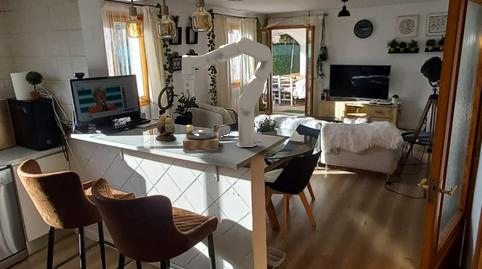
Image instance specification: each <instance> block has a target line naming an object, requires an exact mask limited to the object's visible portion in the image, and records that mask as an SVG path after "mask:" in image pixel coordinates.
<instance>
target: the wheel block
mask: <svg viewBox="0 0 482 269" xmlns="http://www.w3.org/2000/svg"><path fill="white" fill-rule="evenodd" d="M218 144H220V138H219V133H216V137H214V138H210V139H189V138H187V137H186V135H185V136H184V138H183V139H182V151H183V152H193V151H194V152H197V151H196V150H209V151H214V150H213V149H218V150H219V146H218Z"/></svg>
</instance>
